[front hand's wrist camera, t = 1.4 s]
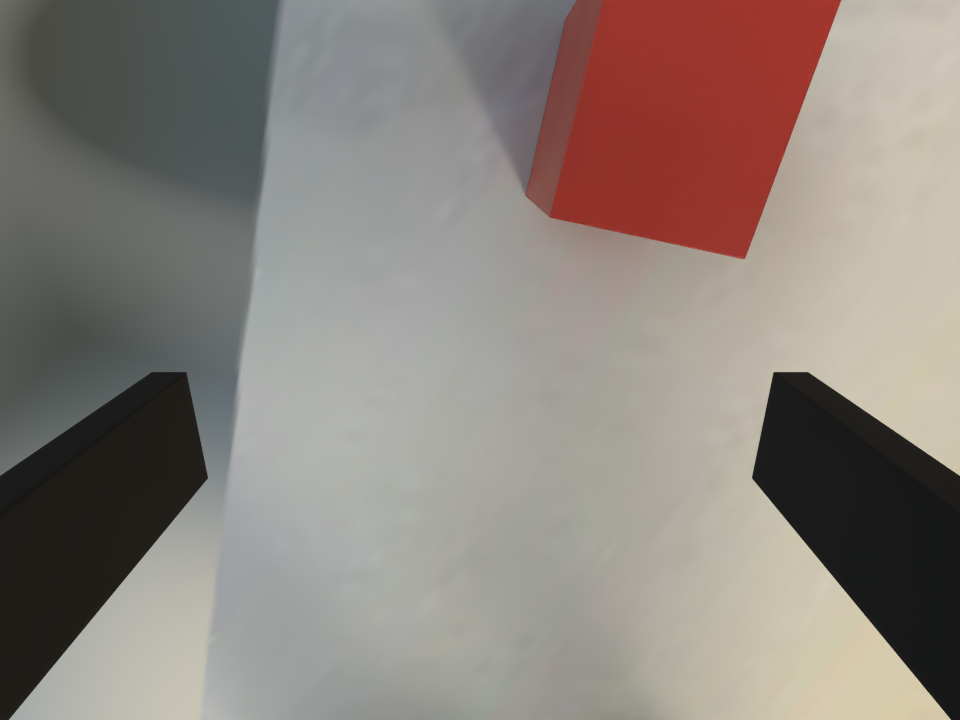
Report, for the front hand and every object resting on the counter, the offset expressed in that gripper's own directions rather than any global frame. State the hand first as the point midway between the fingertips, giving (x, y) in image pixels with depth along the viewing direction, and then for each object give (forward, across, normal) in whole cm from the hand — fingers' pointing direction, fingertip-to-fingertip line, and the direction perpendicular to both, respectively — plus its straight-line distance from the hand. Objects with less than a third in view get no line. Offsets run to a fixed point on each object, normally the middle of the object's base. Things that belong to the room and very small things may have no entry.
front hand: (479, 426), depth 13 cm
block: (+20, -7, -7) cm, 23 cm away
